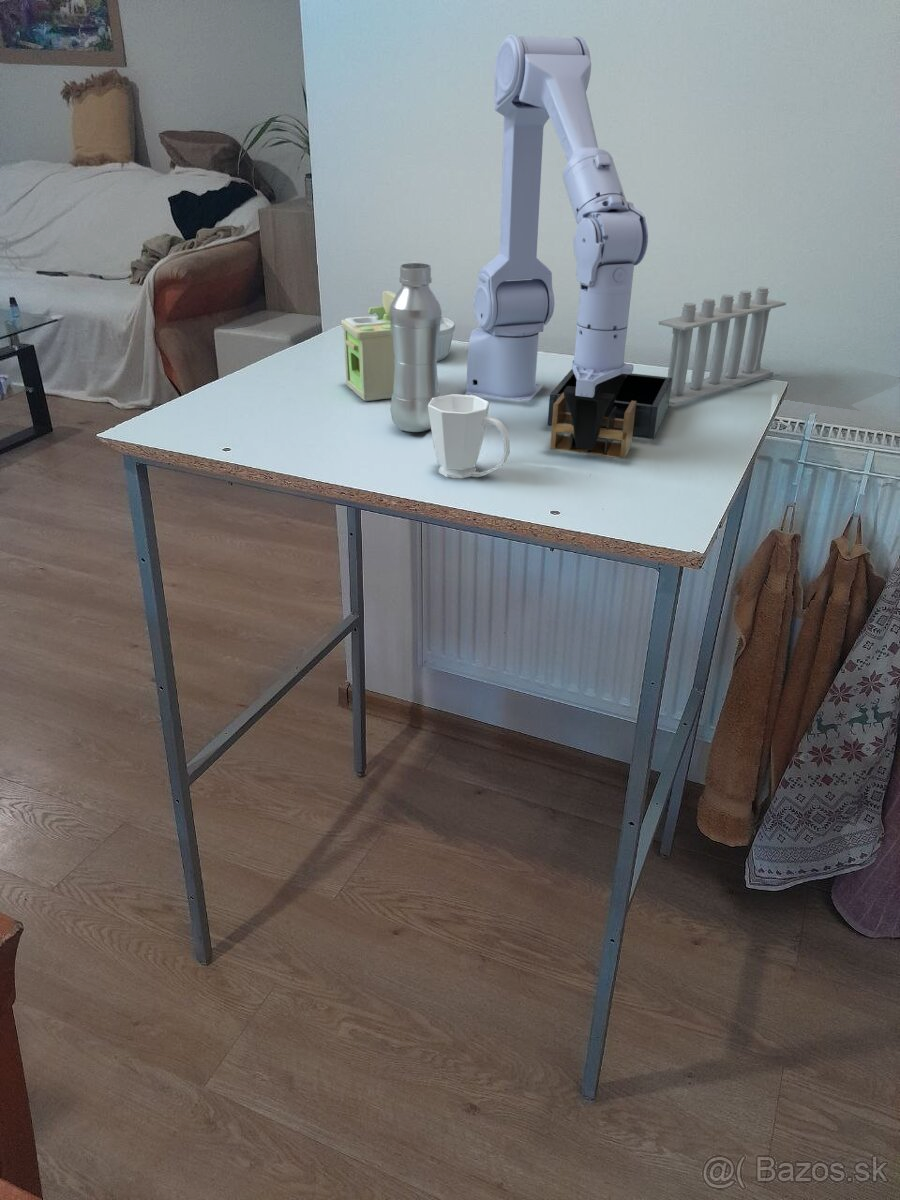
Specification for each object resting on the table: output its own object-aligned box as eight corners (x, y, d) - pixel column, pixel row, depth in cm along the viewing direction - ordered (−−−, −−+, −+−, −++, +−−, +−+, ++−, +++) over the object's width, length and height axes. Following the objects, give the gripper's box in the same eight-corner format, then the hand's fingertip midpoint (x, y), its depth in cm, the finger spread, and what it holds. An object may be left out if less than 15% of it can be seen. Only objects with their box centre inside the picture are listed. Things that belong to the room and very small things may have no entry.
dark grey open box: (547, 429, 121) (549, 394, 119) (570, 399, 132) (573, 366, 130) (653, 443, 117) (657, 407, 115) (668, 410, 128) (672, 377, 126)
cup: (448, 455, 112) (449, 389, 108) (521, 474, 108) (525, 405, 104) (414, 474, 107) (414, 405, 103) (490, 494, 102) (493, 422, 98)
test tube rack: (673, 408, 129) (687, 310, 123) (647, 401, 132) (659, 304, 125) (773, 376, 144) (789, 286, 137) (747, 369, 147) (763, 282, 140)
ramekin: (461, 363, 147) (462, 329, 144) (390, 366, 145) (390, 332, 142) (446, 345, 157) (446, 312, 154) (379, 347, 154) (379, 315, 152)
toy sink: (341, 385, 136) (337, 292, 130) (389, 380, 139) (388, 288, 132) (360, 402, 129) (357, 305, 123) (410, 397, 132) (409, 301, 125)
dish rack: (549, 452, 114) (553, 403, 111) (559, 440, 118) (562, 392, 115) (624, 462, 111) (629, 413, 108) (630, 449, 115) (636, 400, 112)
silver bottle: (448, 424, 122) (451, 263, 112) (430, 441, 117) (431, 273, 107) (402, 418, 124) (400, 259, 114) (382, 434, 118) (379, 268, 108)
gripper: (626, 343, 100) (613, 463, 107) (647, 314, 112) (634, 424, 118) (561, 336, 102) (552, 455, 108) (588, 308, 114) (579, 417, 120)
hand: (591, 438), depth 114 cm, fingers open, 6 cm apart
